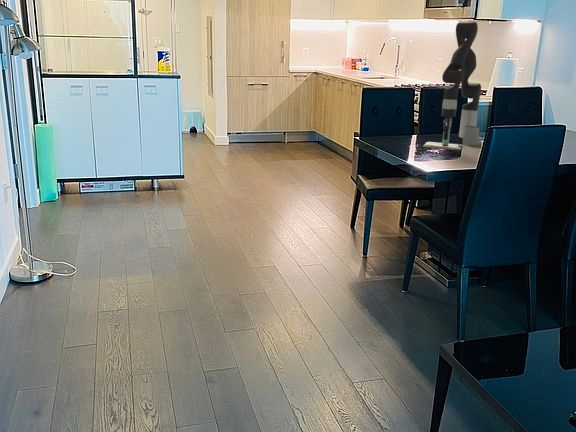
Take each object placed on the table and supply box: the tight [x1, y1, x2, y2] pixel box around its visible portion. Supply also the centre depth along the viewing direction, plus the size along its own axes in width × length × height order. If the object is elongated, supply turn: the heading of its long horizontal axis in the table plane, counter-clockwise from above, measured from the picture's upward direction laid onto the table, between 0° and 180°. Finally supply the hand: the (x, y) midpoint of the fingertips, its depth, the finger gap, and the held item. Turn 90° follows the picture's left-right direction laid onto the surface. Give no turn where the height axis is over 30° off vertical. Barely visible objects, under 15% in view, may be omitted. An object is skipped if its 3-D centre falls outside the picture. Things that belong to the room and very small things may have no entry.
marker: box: [441, 124, 452, 146], centre depth 311 cm, size 4×4×12 cm
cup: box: [462, 125, 480, 146], centre depth 326 cm, size 8×8×10 cm
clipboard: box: [422, 141, 464, 151], centre depth 316 cm, size 14×20×2 cm
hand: (445, 139), depth 312 cm, fingers closed on marker, 3 cm apart
